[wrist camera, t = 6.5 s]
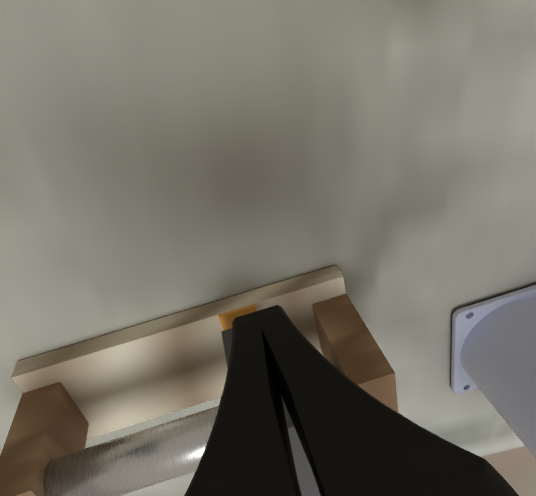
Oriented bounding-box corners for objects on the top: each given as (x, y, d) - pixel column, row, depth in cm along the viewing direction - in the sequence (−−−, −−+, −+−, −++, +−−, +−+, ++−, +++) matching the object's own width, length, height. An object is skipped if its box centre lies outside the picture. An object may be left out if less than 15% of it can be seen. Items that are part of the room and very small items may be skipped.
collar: (267, 317, 22) (302, 423, 16) (290, 399, 25) (326, 510, 20) (221, 331, 22) (240, 443, 16) (250, 412, 25) (275, 528, 20)
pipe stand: (335, 264, 25) (393, 354, 18) (347, 340, 28) (401, 439, 21) (17, 361, 23) (-35, 492, 17) (68, 429, 26) (38, 560, 20)
